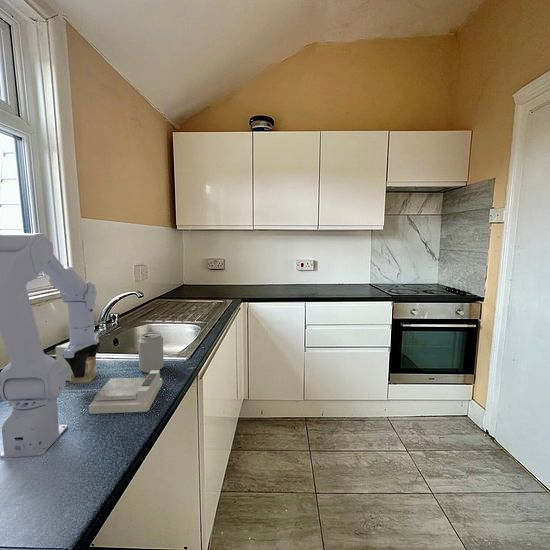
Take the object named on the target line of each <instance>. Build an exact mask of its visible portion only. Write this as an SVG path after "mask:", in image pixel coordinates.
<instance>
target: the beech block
mask: <svg viewBox="0 0 550 550" xmlns="http://www.w3.org/2000/svg"><path fill="white" fill-rule="evenodd" d="M97 370H98V369H97V356H96V357H87V360H86V365H85V374H84V377H83V378H75V377H74V374H73V372H72V369H71V381H70V382H71V384H78V383H79V384H80V383H85V384H86V383H90V382H91V381H92V380H93V379H95V377H96V376H97V375H98V372H97Z"/></svg>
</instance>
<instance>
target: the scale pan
mask: <svg viewBox="0 0 550 550" xmlns="http://www.w3.org/2000/svg"><path fill="white" fill-rule="evenodd" d="M145 379H146V377H118V378H117V377H116V378H110V379H109V380H108V381H107V382H106V383H105V384H104V385H103V386H102V388H101V389H100V390H99V391H98V392H97V393H96V394H95V395H94V397H93V401H96V400H123V399H136V398H137V396H138V395H137V391H138V389H139V388H140V386H141V385H142V383H143V382H144V380H145Z"/></svg>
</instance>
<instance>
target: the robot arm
mask: <svg viewBox="0 0 550 550" xmlns="http://www.w3.org/2000/svg"><path fill="white" fill-rule="evenodd" d="M41 272H42V273H43V274H45V275H47V277H48V281H49V284H50V285H51V286H52V287H53V288H55V289H56V290H57V291H59V294H60V295H61V299H62V301H63V302H64V303H66V304H67V313H68V316H67V317H68V329H69V330H68V331H69V332H68V334H69V341H68V342H69V344H68V346H67V348H66V349H65V350H64V354H63V357H64V359H65V360H66V361H67V362H68V364H69V365H70V367H71V369H72V372H73V374H74V377H75V378H83V377H84V374H85V365H86V360H87V357H96V358H97V354H98V351H99V348H100V347H101V342H100V340H99V339H100V338H99V332H95V321H94V308H95V306H96V298H97V288H96V285H95V284H94V283H92V282H90V281H85V280H84V278H82V276H80V274H78V273H77V272H76V270H74V268H73V267H72V266H64V265H63V264H62V263H61V262H60V260H59V259H58V258H57V257H56V255H55V254H54V245H53V242H52V241H51V240H50V239H49V237H48V236H47V235H46V234H45V233H41V232H37V233H16V232H15V233H13V232H10V233H9V232H2V233H1V232H0V334H1V337H2V340H3V344H4V346H5V350H6V353H7V355H8V356H7V357H8V359H9V363H8V364H7V365H5V367H4V368H2V370H1V371H0V397H1V399H2V400H3V401H5V402H8V406H9V407H12V411H11V413H10V415H9V416H8V417H7V418H6V419H5V421H4V422H3V423H2V426H1V437H2V446H3V451H2V452H1V453H0V458H15V457H33V456H42V455H43V454H45V453H46V452H47V450H48V449H49V448H50V447H51V446H52V445H53V444H54V443H55V442H56V441H57V440H58V439H59V437H60V436H61V435H62V434H64V432H65V431H66V429H67V428H69V425H68V424H59V413H58V398H59V397H60V395H61V394H62V393H63V391H64V389H65V387H66V384H67V383H66V375H65V373H64V371H63V370H62V369H61V368H60V365H59V362H58V361H57V360H56V358H54V357H52V356H50V355H48V354H46V353H45V352H44V348H43V345H42V341H41V337H40V333H39V330H38V327H37V323H36V319H35V315H34V312H33V311H34V310H33V308H32V303H31V300H30V297H29V293H28V289H27V285H28V283H30V282H31V281H34V280H37V278H38V277H39V276H40V274H41Z"/></svg>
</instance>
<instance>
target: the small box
mask: <svg viewBox="0 0 550 550" xmlns="http://www.w3.org/2000/svg"><path fill="white" fill-rule="evenodd" d="M69 342H70V341H68V342H65V343H63V344H59V345H57V346H55V360H57V361H58V362H59V365H60V368H61V369H62V370H63V371H64V373H65V375H66V381H67V382H71V367H70V365H69V364H68V362H67V361H66V360H65V359H64V357H63V354H64V350H65V349H66V348H67V346H68V344H69Z"/></svg>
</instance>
